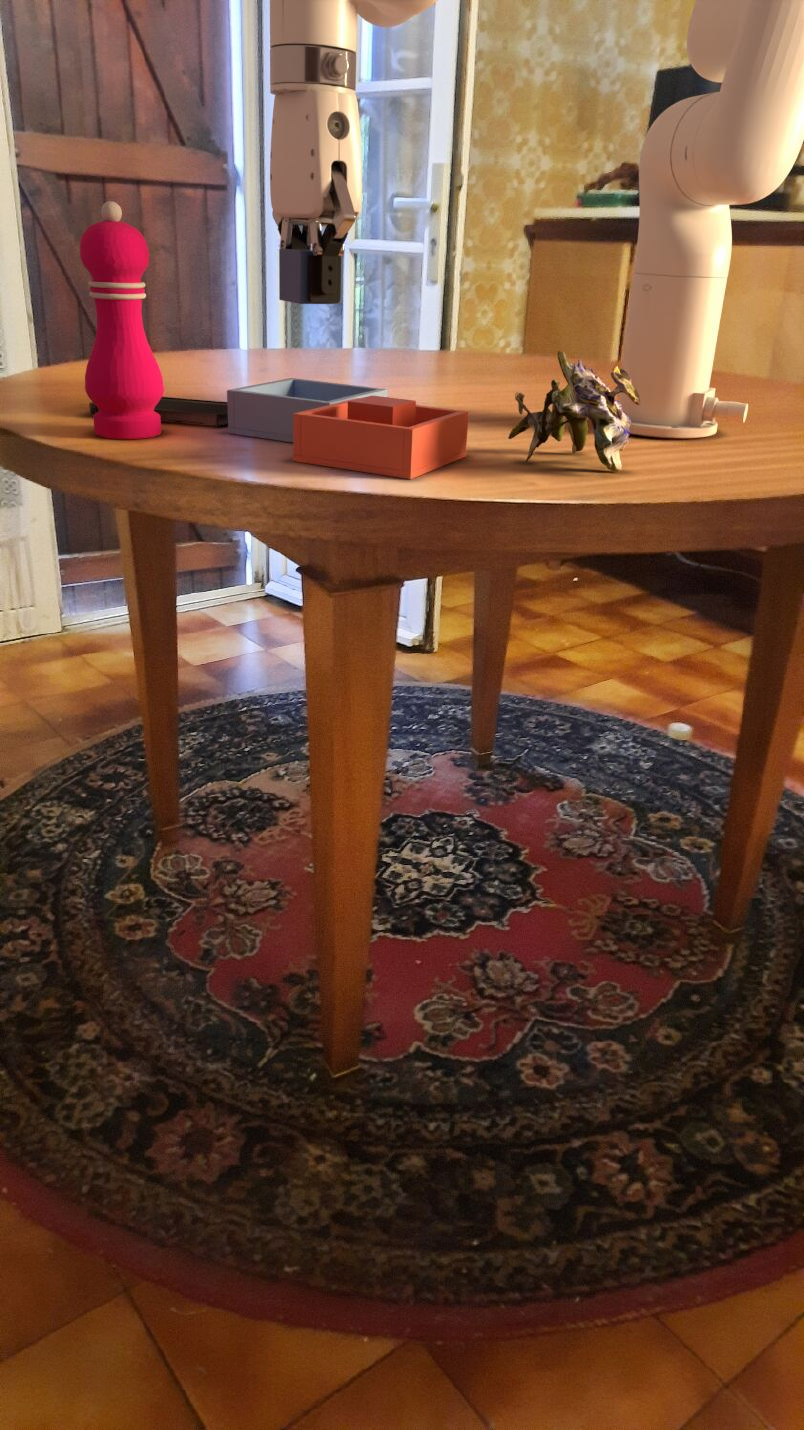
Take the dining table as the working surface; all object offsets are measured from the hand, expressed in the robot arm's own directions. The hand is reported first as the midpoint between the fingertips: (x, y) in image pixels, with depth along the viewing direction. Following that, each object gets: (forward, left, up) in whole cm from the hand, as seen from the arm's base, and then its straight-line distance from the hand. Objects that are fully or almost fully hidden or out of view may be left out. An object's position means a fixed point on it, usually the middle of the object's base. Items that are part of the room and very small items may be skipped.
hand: (310, 298), depth 97 cm
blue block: (0, 0, 0) cm, 0 cm away
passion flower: (-27, -1, -13) cm, 30 cm away
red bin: (-12, +7, -13) cm, 19 cm away
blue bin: (0, 0, -13) cm, 13 cm away
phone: (+16, +2, -13) cm, 21 cm away
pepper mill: (+13, +12, -13) cm, 22 cm away
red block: (-12, +7, -12) cm, 18 cm away
